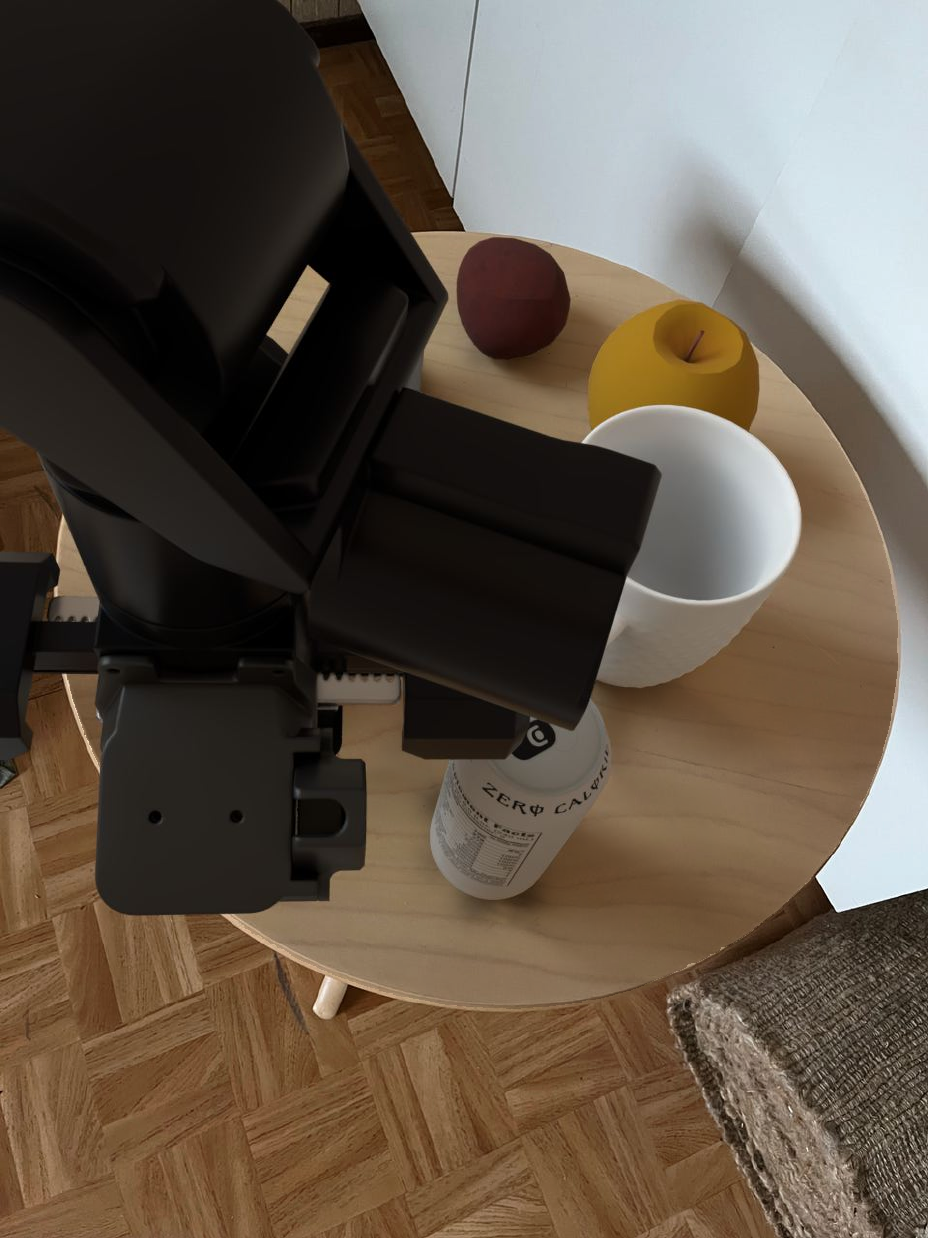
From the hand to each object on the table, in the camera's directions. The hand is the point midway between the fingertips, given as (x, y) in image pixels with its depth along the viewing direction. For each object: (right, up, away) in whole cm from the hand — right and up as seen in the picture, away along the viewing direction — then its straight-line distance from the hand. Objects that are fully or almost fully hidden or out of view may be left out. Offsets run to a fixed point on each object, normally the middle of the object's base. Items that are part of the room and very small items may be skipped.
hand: (246, 749), depth 39 cm
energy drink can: (+10, -6, +12) cm, 16 cm away
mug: (+16, +4, +18) cm, 24 cm away
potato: (+11, +24, +28) cm, 38 cm away
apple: (+19, +15, +24) cm, 34 cm away
